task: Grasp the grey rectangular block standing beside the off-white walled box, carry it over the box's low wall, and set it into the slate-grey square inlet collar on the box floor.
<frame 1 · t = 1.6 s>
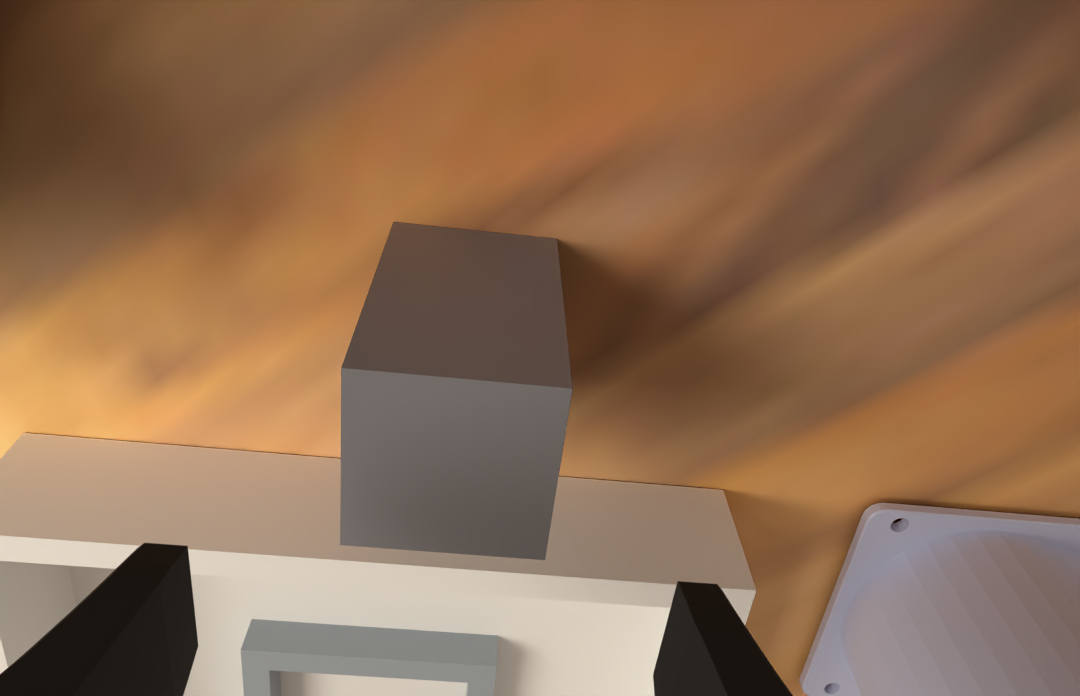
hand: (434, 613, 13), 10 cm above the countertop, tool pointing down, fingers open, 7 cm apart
grey rectangular block: (469, 303, 22), on the countertop
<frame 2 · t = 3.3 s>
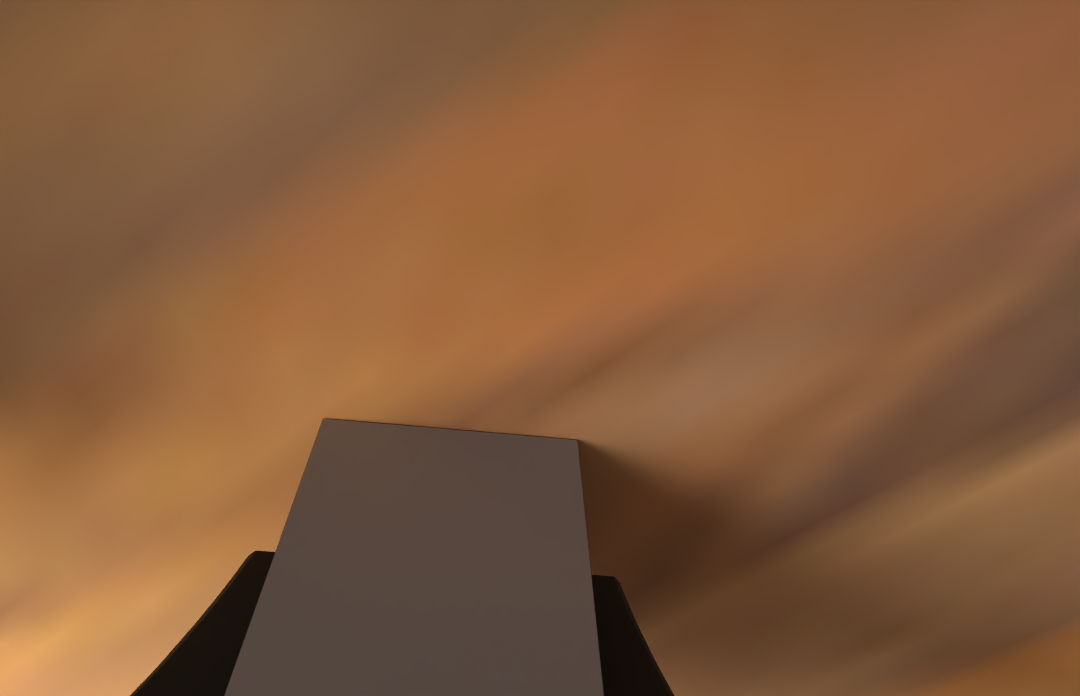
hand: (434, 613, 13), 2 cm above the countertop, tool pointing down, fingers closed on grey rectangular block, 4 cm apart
grey rectangular block: (443, 527, 14), on the countertop, touching gripper
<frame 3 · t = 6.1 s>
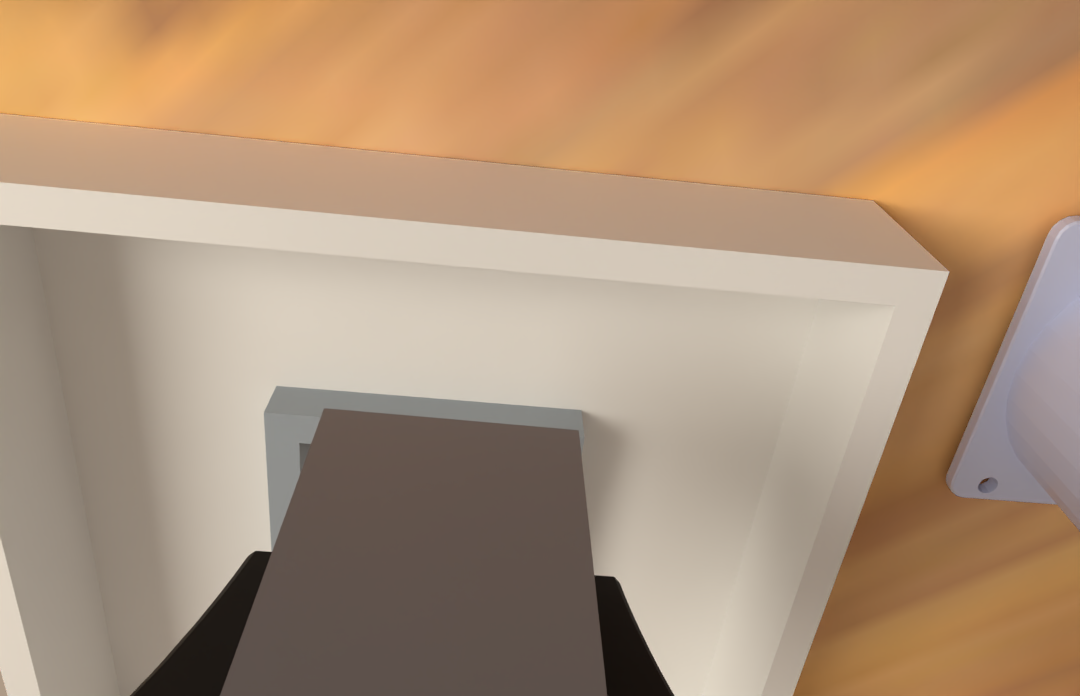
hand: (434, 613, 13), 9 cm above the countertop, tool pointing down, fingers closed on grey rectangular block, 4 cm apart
box: (425, 504, 24), on the countertop
grey rectangular block: (444, 517, 14), point 7 cm above the countertop, touching gripper
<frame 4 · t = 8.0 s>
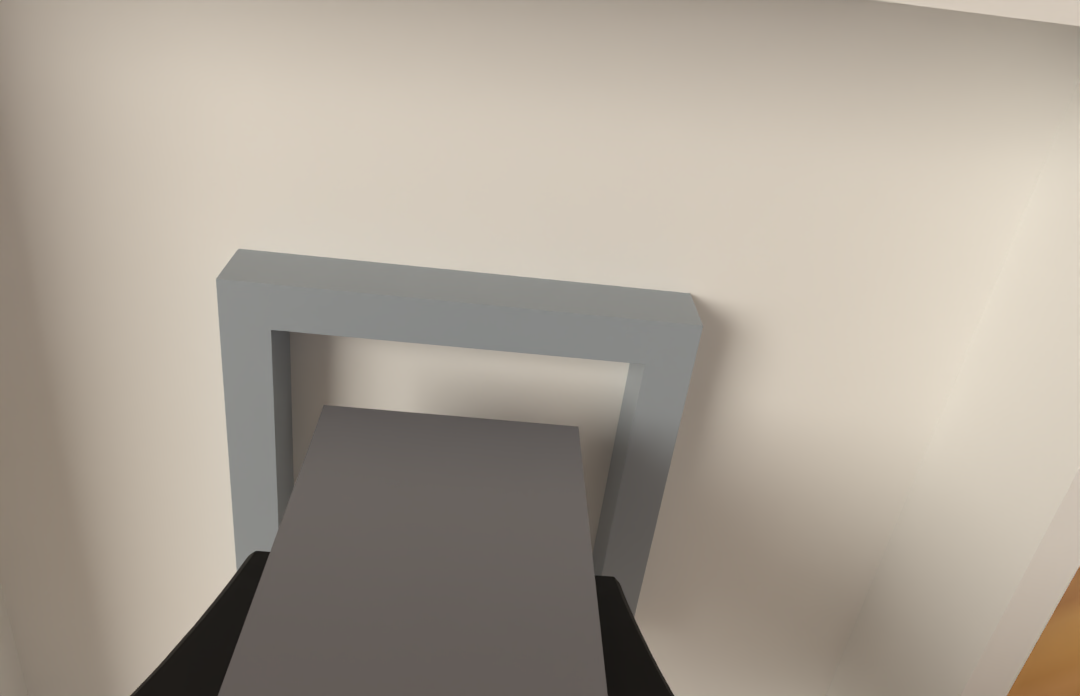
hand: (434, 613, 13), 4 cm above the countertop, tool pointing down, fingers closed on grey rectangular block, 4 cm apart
box: (454, 438, 17), on the countertop
grey rectangular block: (444, 514, 14), point 2 cm above the countertop, touching gripper
when the fingers open (4 cm above the countertop, at t = 9.3 s): grey rectangular block drops 1 cm, resting on box.
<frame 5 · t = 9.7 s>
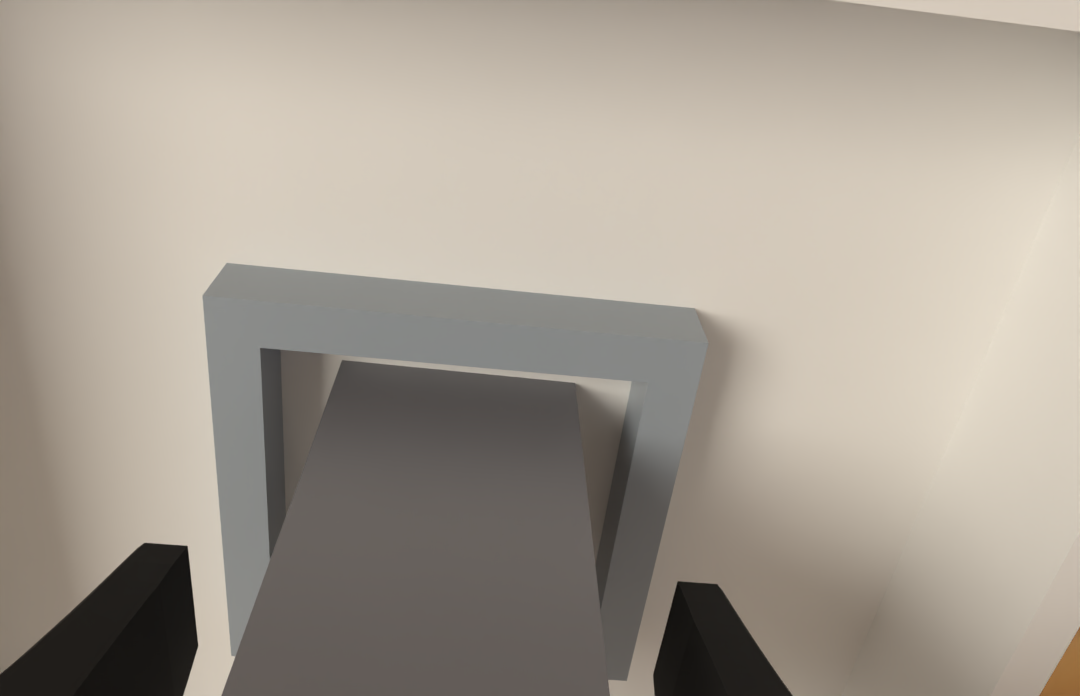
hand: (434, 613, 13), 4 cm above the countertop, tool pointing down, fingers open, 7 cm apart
box: (451, 456, 16), on the countertop
grey rectangular block: (450, 465, 16), resting on box
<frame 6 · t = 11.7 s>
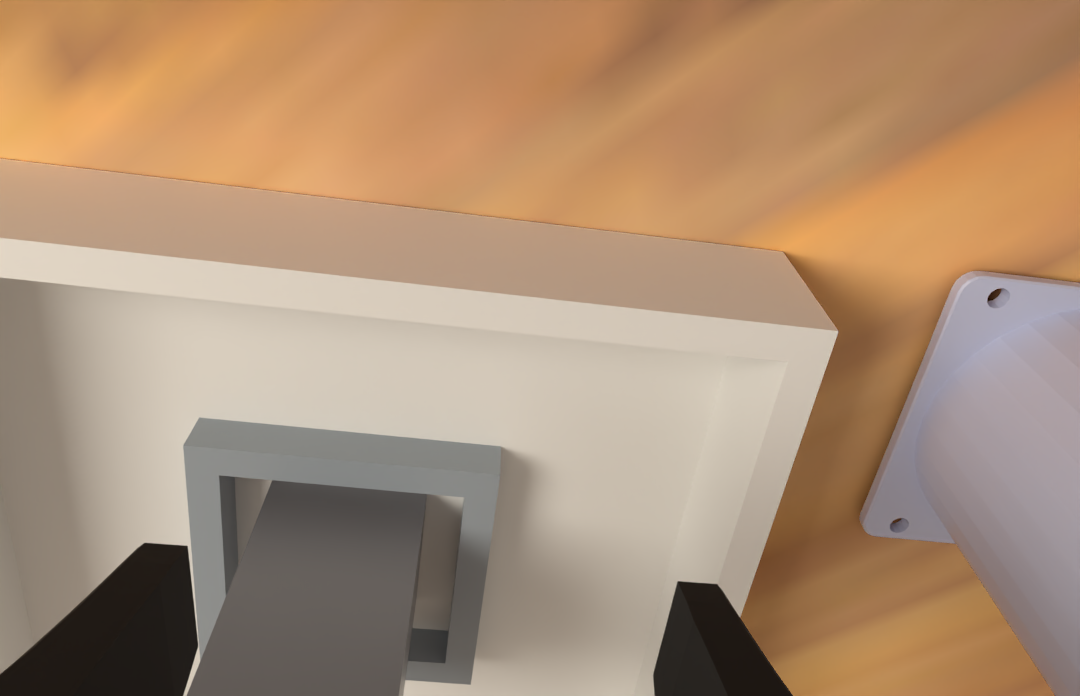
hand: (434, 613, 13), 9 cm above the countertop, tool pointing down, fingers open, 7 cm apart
box: (351, 532, 24), on the countertop
grey rectangular block: (348, 540, 24), resting on box
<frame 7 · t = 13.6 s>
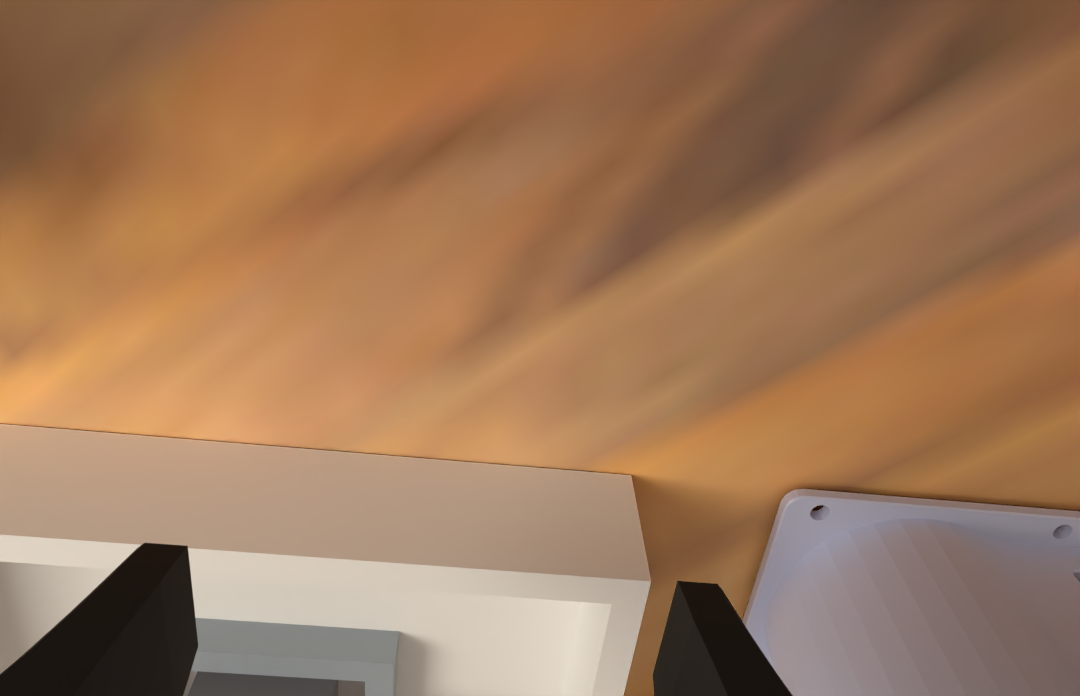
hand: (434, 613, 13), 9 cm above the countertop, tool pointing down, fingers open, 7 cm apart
box: (276, 695, 27), on the countertop
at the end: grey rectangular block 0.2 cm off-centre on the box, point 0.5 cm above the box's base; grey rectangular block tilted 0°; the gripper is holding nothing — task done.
